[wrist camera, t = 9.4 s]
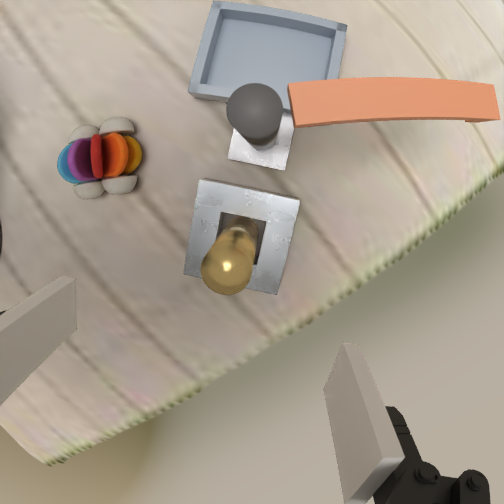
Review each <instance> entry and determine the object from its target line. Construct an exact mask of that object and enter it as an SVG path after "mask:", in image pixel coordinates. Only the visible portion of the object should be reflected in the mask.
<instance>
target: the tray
mask: <svg viewBox="0 0 504 504" xmlns="http://www.w3.org/2000/svg"><path fill="white" fill-rule="evenodd" d="M346 30H347V25H345V24H342V23H338V22H335V21H331V20H327V19H323V18H319V17H315V16H311V15H307V14H302V13H297V12H293V11H287V10H282V9H277V8H271V7H265V6H258V5H251V4H243V3H234V2H224V1H213V3H212V6H211V9H210V13H209V16H208V19H207V22H206V26H205V29H204V32H203V36H202V39H201V43H200V46H199V50H198V53H197V57H196V61H195V65H194V68H193V72H192V76H191V80H190V84H189V88H188V92H189V93H190V94H191V95H192V96H193V97H194V98H199V99H206V100H213V101H220V102H226V103H228V100H229V98H230V96H231V95H232V93H233V92H234V91H235V90H236V89H238V88H239V87H241V86H243V85H246V84H249V83H261V84H264V85H267V86H269V87H271V88H272V89H274V90H275V91H276V92H277V94H278V95H279V96H280V98H281V100H282V104H283V112H285V113H289V114H291V109H290V103H289V98H288V93H287V87H288V83H295V82H304V81H315V80H328V79H338V74H339V69H340V63H341V58H342V52H343V47H344V41H345V36H346Z"/></svg>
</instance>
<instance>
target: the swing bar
mask: <svg viewBox="0 0 504 504" xmlns="http://www.w3.org/2000/svg"><path fill="white" fill-rule="evenodd" d="M287 93H288V98H289V103H290V109H291V115H292V120H293V126H294V128H302V127H311V126H320V125H330V124H341V123H354V122H369V121H388V120H465V122H484V121H492V120H500V115H499V109H498V104H497V99H496V94H495V89H494V85H492V84H484V83H477V82H468V81H458V80H446V79H431V78H405V77H370V78H344V79H328V80H315V81H304V82H295V83H288V87H287ZM226 111H227V117H228V120H229V122H230V124H231V125H232V126H233V127H234V128H235V129H236V130H237V131H238V132H239V133H240V134H241V135H243V136H245V137H248V138H253V139H258V138H264V137H267V136H269V135H270V134H272V133H273V132H274V131H275V130H276V129H277V128H278V126H279V125H280V123H281V119H282V115H283V104H282V100H281V98H280V96H279V95H278V94H277V92H276V91H275V90H274V89H272V88H271V87H269V86H267V85H264V84H261V83H249V84H246V85H243V86H241V87H239V88H238V89H236V90H235V91H234V92H233V93H232V95H231V96H230V98H229V100H228V103H227V108H226Z"/></svg>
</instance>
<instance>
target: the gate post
mask: <svg viewBox="0 0 504 504" xmlns="http://www.w3.org/2000/svg"><path fill="white" fill-rule="evenodd" d="M293 131H294V126H293V120H292V115H291V114H289V113H285V112H283V115H282V119H281V123H280V125H279V126H278V128H277V129H276V130H275V131H274V132H273V133H272V134H270V135H269V136H267V137H264V138H258V139H253V138H248V137H245V136H243V135H241V134H240V133H239V132H238V131H237V130H236V129H235V128H234V130H233V135H232V140H231V144H230V149H229V154H228V158H227V159H232V160H237V161H242V162H247V163H252V164H256V165H261V166H266V167H270V168H275V169H279V170H284V171H285V167H286V163H287V158H288V154H289V149H290V145H291V140H292V136H293Z"/></svg>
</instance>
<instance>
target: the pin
mask: <svg viewBox="0 0 504 504" xmlns="http://www.w3.org/2000/svg"><path fill="white" fill-rule="evenodd" d="M257 239H258V227H257V225H256V223H255V222H254V221H253V220H252V219H250V218H248V217H244V216H238V217H235V218H233V219H232V220H230V221H229V223H228V224H227V225H226V227H225V228H224V230H223V231H222V232H221V234H220V235H219V237H218V238H217V239H216V241H215V242H214V244H213V245H212V246H211V248H210V249H209V251H208V252H207V253H206V255H205V256H204V258H203V260H202V263H201V276H202V279H203V281H204V282H205V284H206V285H207V286H208V287H209V288H210V289H211V290H213V291H214V292H216V293H219V294H223V295H231V294H235V293H238V292H240V291H241V290H243V289H244V288H245V287H246V286H247V285H248V283H249V281H250V279H251V274H252V268H253V263H254V257H255V251H256V245H257Z"/></svg>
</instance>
